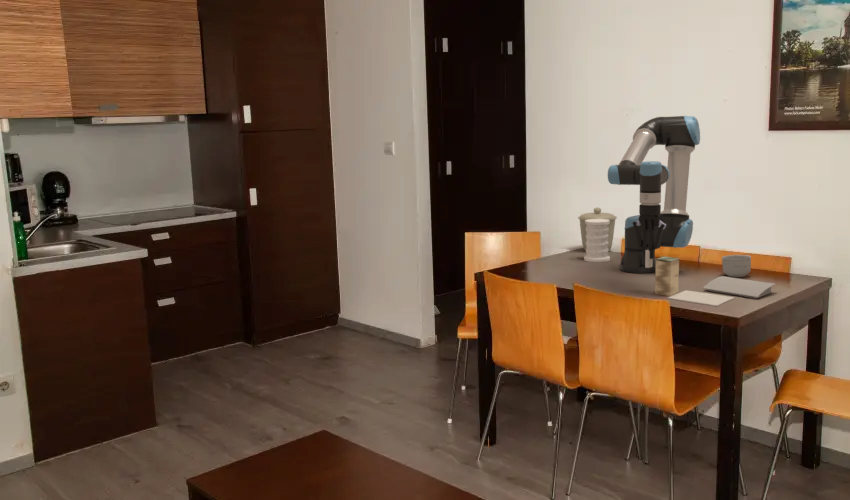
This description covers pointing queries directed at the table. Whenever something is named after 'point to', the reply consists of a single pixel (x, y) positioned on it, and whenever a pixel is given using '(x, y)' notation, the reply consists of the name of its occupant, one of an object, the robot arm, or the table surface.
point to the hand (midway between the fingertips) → (648, 267)
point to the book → (739, 287)
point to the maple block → (667, 276)
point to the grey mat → (701, 298)
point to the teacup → (736, 265)
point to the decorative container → (597, 240)
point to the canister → (597, 216)
